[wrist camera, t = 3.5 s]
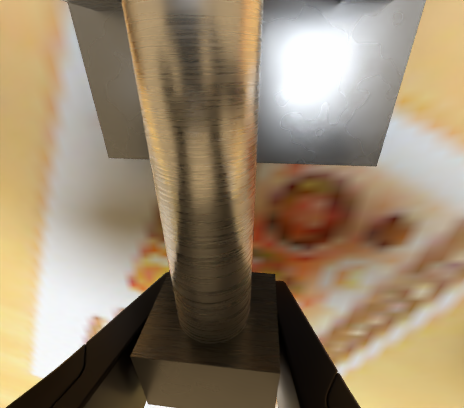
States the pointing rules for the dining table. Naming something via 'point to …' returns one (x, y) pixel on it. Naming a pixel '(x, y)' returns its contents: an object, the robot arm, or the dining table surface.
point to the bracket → (277, 77)
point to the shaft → (204, 204)
